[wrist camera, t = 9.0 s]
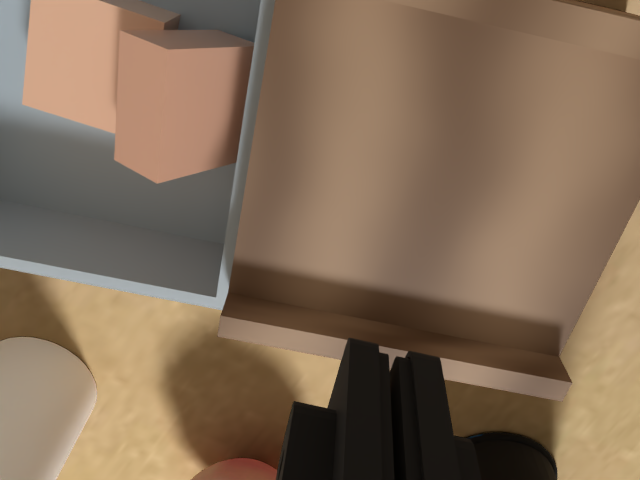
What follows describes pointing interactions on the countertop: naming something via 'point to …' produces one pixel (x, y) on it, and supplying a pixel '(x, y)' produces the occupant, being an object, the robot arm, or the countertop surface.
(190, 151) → the tile
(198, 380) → the countertop surface
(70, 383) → the cylindrical container
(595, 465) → the countertop surface
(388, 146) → the brown wooden box
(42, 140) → the bin
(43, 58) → the tile
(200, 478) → the decorative fruit
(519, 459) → the aerosol can
